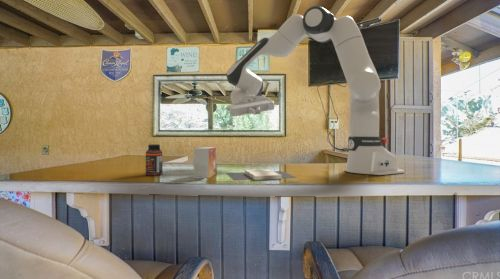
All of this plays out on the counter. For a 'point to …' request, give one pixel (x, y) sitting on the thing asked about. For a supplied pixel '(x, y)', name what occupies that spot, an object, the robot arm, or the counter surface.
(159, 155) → the supplement bottle
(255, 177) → the slab
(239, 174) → the mat
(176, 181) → the counter surface
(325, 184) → the counter surface
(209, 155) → the small box
